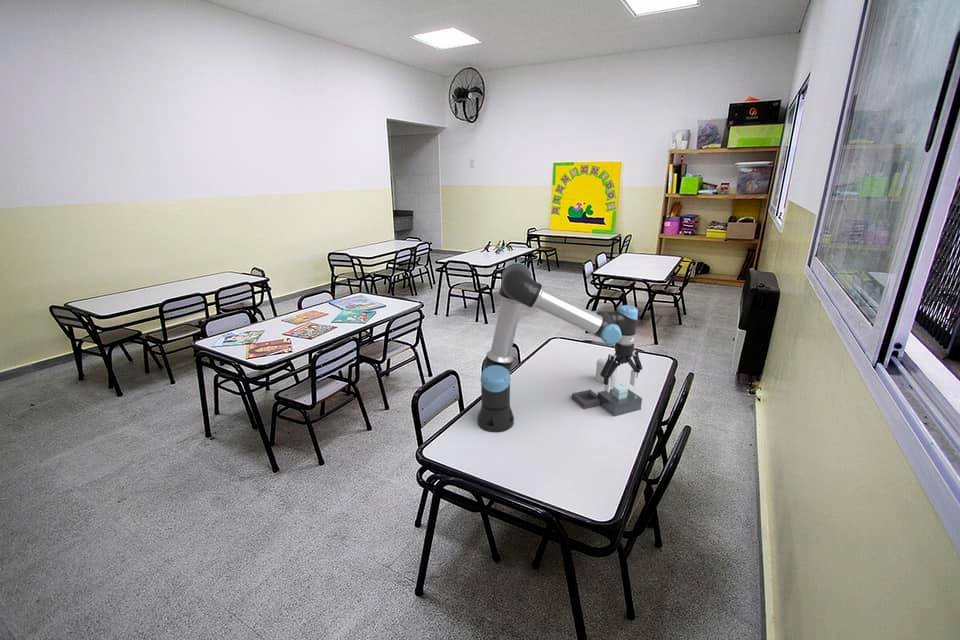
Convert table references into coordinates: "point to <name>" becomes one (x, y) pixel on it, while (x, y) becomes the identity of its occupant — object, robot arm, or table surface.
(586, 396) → the dark grey square tray
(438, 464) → the table surface
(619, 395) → the plug
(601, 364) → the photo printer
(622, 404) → the port block
